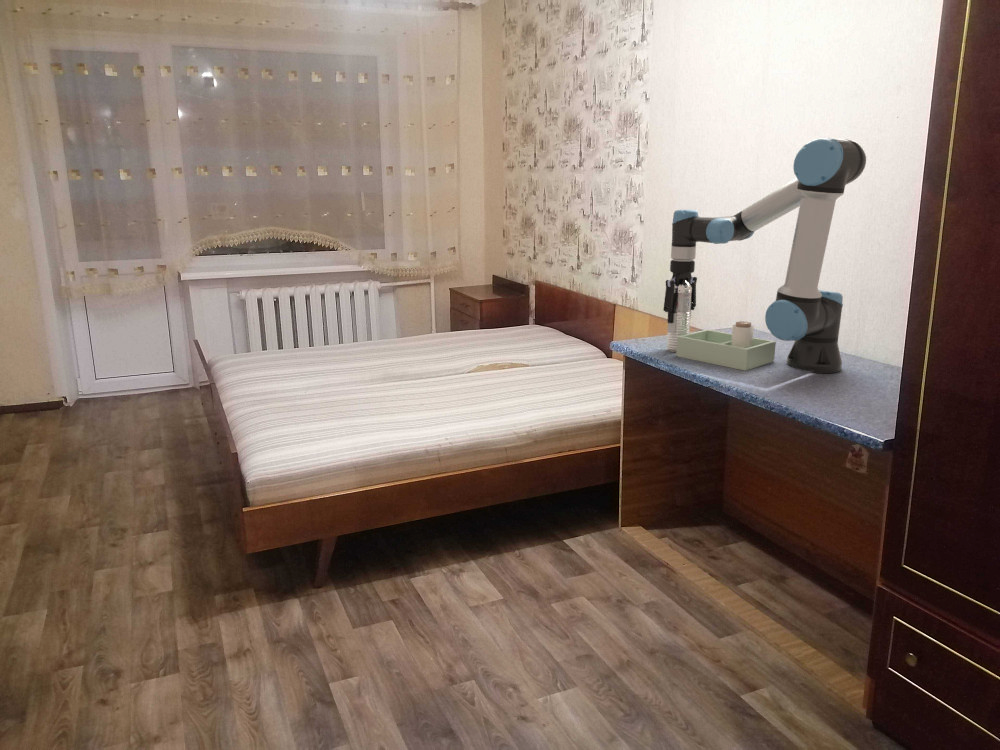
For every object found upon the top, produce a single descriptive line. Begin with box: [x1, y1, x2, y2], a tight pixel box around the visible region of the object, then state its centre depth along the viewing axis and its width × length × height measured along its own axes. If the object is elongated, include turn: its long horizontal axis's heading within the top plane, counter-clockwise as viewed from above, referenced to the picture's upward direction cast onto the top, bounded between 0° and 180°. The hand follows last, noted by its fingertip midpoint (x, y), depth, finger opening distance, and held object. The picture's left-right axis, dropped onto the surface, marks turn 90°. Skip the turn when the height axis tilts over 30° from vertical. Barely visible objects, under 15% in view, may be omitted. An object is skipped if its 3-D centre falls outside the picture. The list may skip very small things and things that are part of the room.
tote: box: [675, 329, 777, 372], centre depth 230 cm, size 24×16×7 cm, turn 41°
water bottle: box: [666, 280, 692, 354], centre depth 242 cm, size 7×7×25 cm
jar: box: [731, 320, 755, 348], centre depth 226 cm, size 6×6×12 cm
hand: (678, 331), depth 243 cm, fingers closed on water bottle, 7 cm apart
